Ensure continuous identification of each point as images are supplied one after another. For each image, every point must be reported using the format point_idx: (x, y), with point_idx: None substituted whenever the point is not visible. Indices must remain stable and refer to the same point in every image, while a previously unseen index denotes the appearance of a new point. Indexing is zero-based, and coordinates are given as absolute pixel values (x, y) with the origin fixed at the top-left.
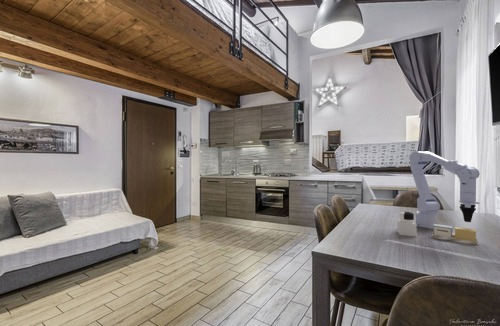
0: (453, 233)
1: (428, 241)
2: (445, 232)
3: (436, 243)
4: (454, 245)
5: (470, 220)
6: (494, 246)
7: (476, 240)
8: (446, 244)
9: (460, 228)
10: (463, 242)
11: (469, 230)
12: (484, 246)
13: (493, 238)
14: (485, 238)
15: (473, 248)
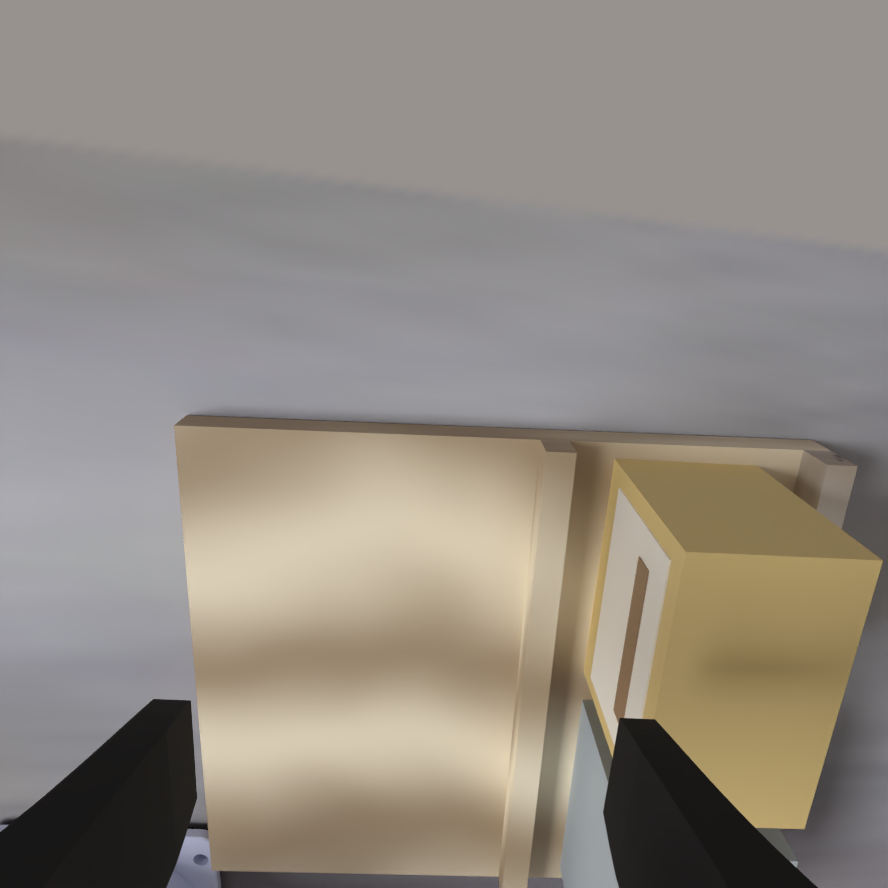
0: (294, 685)
1: (830, 873)
2: None
3: (873, 810)
4: (856, 662)
5: (684, 762)
6: (595, 225)
7: (572, 448)
8: (858, 730)
9: (741, 761)
10: None
11: (842, 648)
12: (686, 354)
13: (8, 165)
14: (124, 287)
15: (881, 486)
